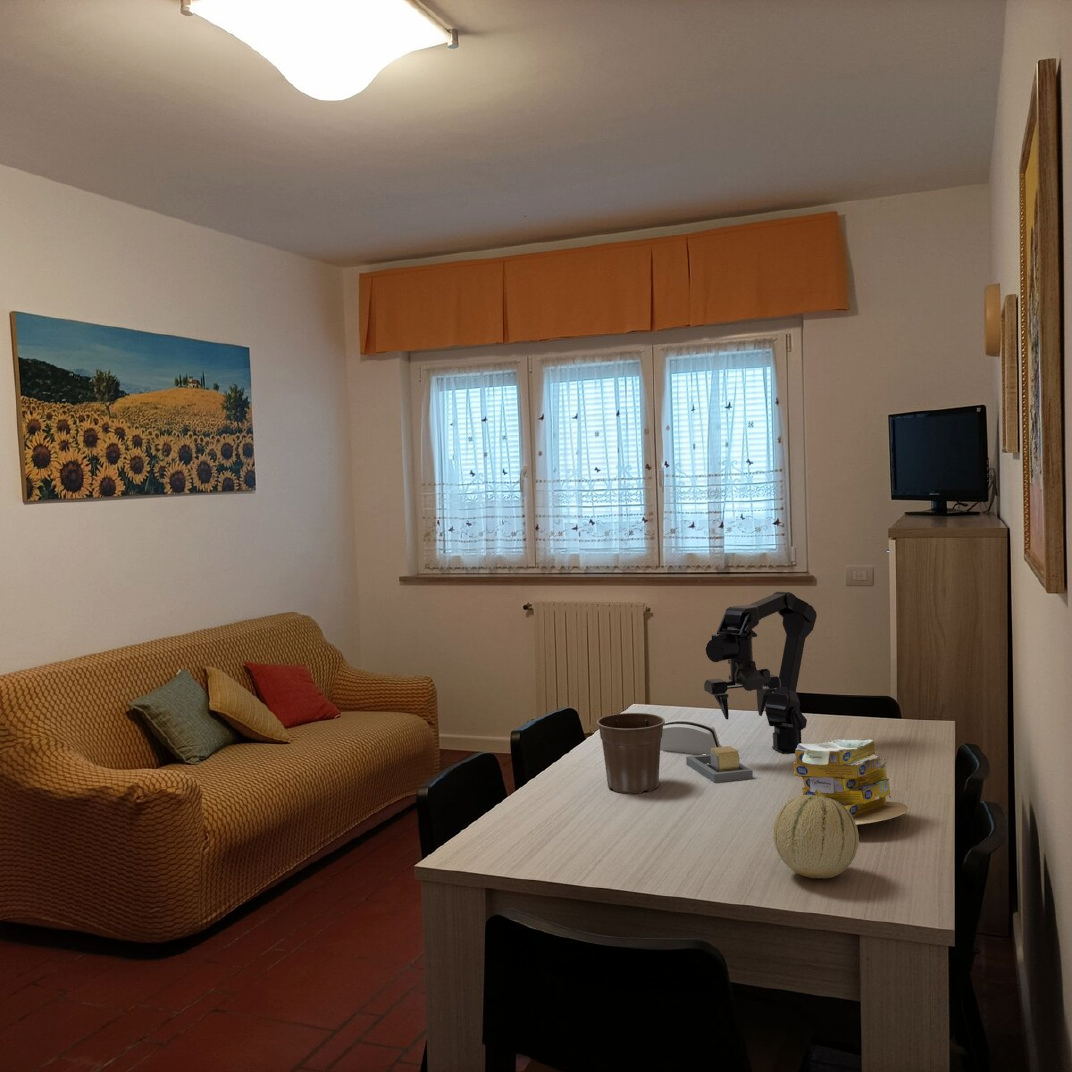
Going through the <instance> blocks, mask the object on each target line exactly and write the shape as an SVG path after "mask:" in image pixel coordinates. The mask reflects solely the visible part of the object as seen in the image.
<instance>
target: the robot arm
mask: <svg viewBox="0 0 1072 1072" xmlns="http://www.w3.org/2000/svg"><path fill="white" fill-rule="evenodd" d="M775 613H777V614H778V615H779V616H780V617H781V618H782V627H783V629H784V631H785V632H784V633H785V640H784V641H785V642H784V647H783V650H782V651H783V652H782V653H783V654H782V658H781V664H780V668H779V673H778V675H775V674H771V671H770V670H769V668H761V669H757V666H756V661H755V660H754V658H753V657H754V656H753V653H754V652H753V639H754V638H757V637H758V634H757V633H756V632H755V631H754V630H753V629H754V628H755V627H757V626H758V625H759V623H760V622H761V620H762V619H765V618H767V617H769V616H771V615H773V614H775ZM816 621H817V611H816V610H815V608H814V606H812V605H811V604H810V603H808V602H806V601H804V600H802V599H800V598H799V597H797V596H796V595H795V594H794V593H792V592H790V591H776V592H773V594H770V595H769V596H768V595H767V596H766V597H764V598H762V599H760V600H757V601H755V602H752V603H751V604H746V605H743V604H742V605H734V606H728V608H726V609H725V612H724V615H723V617H722V619H721V621H720V624H719V627H717V628H718V629H717V631H716V633H715V634H711V639H710V640H709V641H708V642H707V643H706V647H705V654H706V657H707V658H708V659H709V660H710V661H711V662H713V663H719V662H720V663H721V662H724V661H727V663H728V664H729V666H730V667H729V669H730V673H729V675H728V680H729V681H727V680H724V679H723V680H722V679H721V678H713V679H712V678H711V679H706V680H705V681H704V683H703V686H704V687H703V690H704V692H707V693H709V695H711V696H713V697H714V699H715V700H716V701H717V704H718V706H719V708H720V710H721V712H722V714H723V716H724V718H725V720H727V721H728V720H729V716H730V715H729V704H728V699H729V693H727V692H728V690H730V689H739V688H740V689H742V688H743V689H744V690H745V691H747V692H751V691H756V702H757V703H756V704H757V712H758V716H759V717H762V716H763V713H764V710H765V715H766V718H767V723H768V725H769V727H773V730H774V731H773V732H772V746H771V748H772V749H773V750H775V751H777V752H779V753H781V754H789V753H792V754H793V753H795V750H796V748H797V745H798V744H800V743H801V744H802V731H803V730H804V729H805V728H806V727H807V724H808V723H807V722H808V720H807V718H806V717H805V716H804V714H803V713H802V712H801V710H800V708H801V707H800V706H801V701H800V699H799V696H798V694H797V687H798V682H799V676H800V671H801V665H802V659H803V653H804V647H805V642H806V638H807V637H808V636H809V635H810V634H811V632H813V631H814V628H815V625H816Z"/></svg>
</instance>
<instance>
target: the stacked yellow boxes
mask: <svg viewBox="0 0 1072 1072" xmlns="http://www.w3.org/2000/svg"><path fill="white" fill-rule="evenodd" d="M794 753H795V761H794V762H793V763H792V765H793V773H794V776H796V777H801V778H802V780H803V781H802V782H803V786H804V787H801V794H802V795H817V793H815V790H816V789H818V790H820V791H821V792H822V794H823V795H824V796H825V797H827V798H830V799H833V800H835V801H837V802H839V803H840V804H842V805H843V806H844V807H845V808H846V809H847V810H848V811H849V812H850V813H851V815H852V817H853V819H854V821H855V823H856V826H857V829H859V825H864V824H871V823H877V822H881V821H887V820H890V819H893V818H897V817H899V816H902V815H903V814H905V813H906V812H908V810H909V807H908V806H907V805H906V804H905V803H902V802H899V801H894V800H889V799H886V798H887V797H889V798H892V796H891V788H890V779H889V778H888V775H887V767H886V764H887V761H885V762H884V763H883V764H881V761H882V760H883V758H881V757H880V756H879V755H878V756H877V754H876V752H875V740H873V739H866V740H863V739H860V738H858V739H846V738H845V737H843V738H842V739H841V738H838V739H831V740H830V739H828V740H823V741H820V742H817V743H802V742H801V743H800V744H798V745H797V748H796V750H795V752H794ZM884 760H886V759H885V758H884Z"/></svg>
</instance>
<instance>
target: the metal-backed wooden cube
mask: <svg viewBox="0 0 1072 1072" xmlns="http://www.w3.org/2000/svg"><path fill="white" fill-rule="evenodd" d="M710 754H711V763H710V764H711V769H713V770H714V771H716V772H725V771H734V770H740V765H739V763H740V754H739V750H737V749H736V748H734V747H733V746H731V745H728V746H722V747H716V748H711V753H710Z"/></svg>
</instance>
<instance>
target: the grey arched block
mask: <svg viewBox="0 0 1072 1072" xmlns="http://www.w3.org/2000/svg"><path fill="white" fill-rule="evenodd" d="M716 747H723V745H721V744H720V741H719V737H718V735H717V732H716V729H715V727H714V726H712V725H710V724H707V723H705V722H702V721H701V722H700V721H697V720H693V719H674V720H668V721H666V722H665V723H664V724H663V733H662V738H661V745H660V751H662V750H668V751H667V752H671V751H677V752H676V753H681V752H685V753H684V754H691V753H693V754H692V755H701V754H710V753H711V748H716Z"/></svg>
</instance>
